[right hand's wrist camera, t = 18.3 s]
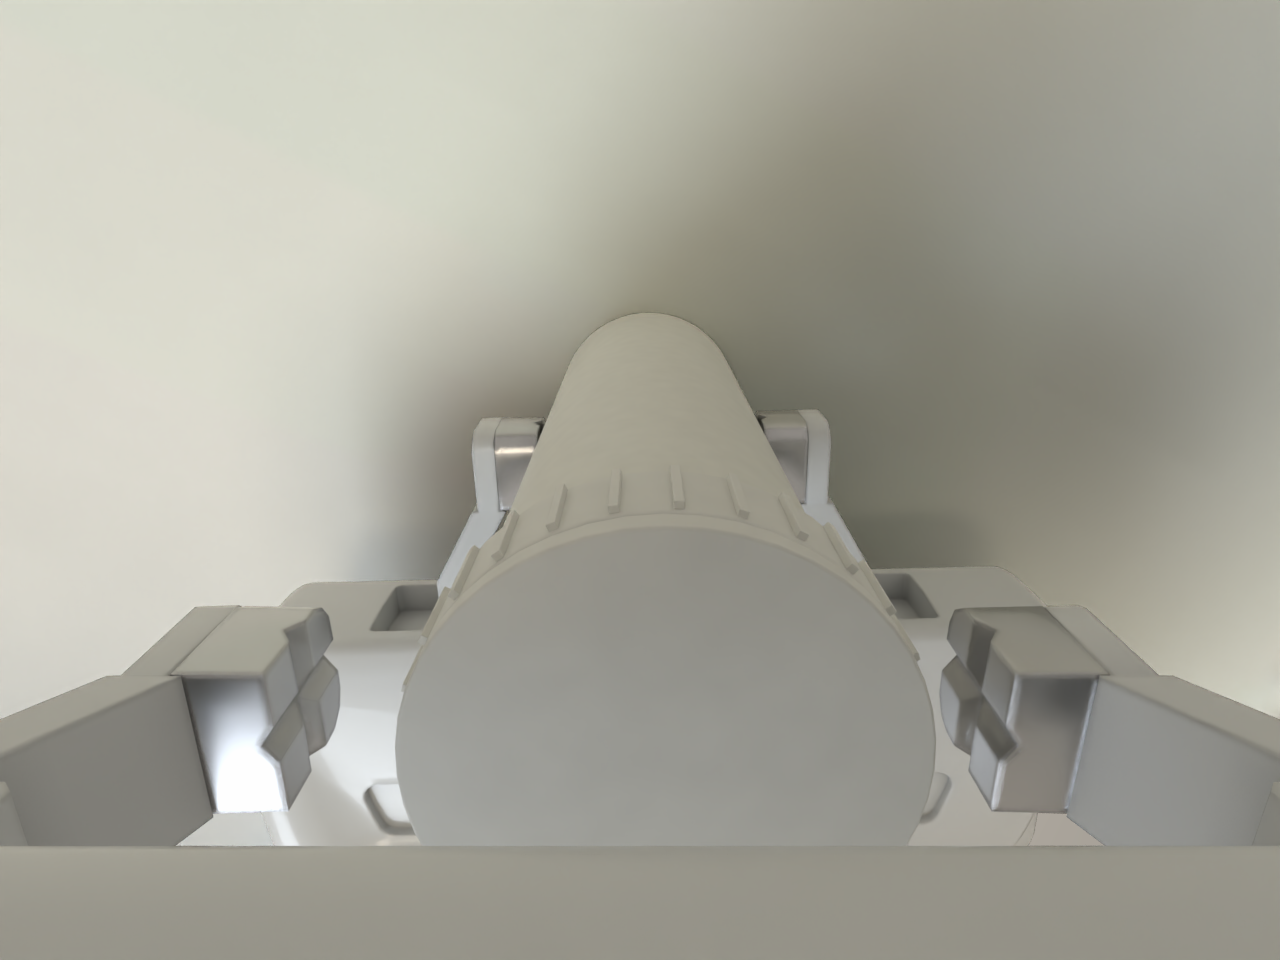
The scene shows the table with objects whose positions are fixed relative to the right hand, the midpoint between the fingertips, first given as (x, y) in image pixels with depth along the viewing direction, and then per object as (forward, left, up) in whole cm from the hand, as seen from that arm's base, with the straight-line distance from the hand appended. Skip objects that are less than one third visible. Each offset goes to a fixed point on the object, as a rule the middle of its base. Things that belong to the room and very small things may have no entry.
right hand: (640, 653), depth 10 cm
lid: (0, 0, +2) cm, 2 cm away
